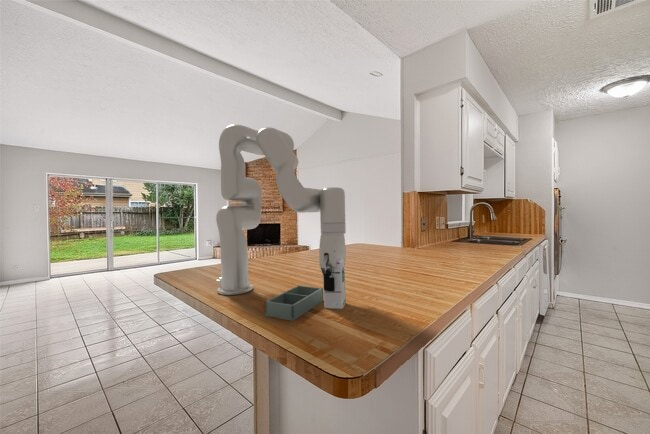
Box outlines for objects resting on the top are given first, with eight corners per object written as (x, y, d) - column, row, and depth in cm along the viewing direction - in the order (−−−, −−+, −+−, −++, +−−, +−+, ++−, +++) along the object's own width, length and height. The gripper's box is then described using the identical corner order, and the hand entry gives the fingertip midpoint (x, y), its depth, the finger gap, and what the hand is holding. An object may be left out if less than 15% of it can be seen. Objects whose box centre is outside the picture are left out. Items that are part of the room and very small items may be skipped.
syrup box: (343, 309, 81) (342, 259, 81) (323, 308, 83) (322, 259, 82) (345, 302, 87) (344, 256, 87) (327, 302, 88) (326, 256, 88)
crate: (293, 320, 74) (292, 305, 74) (265, 315, 78) (265, 301, 78) (323, 300, 90) (323, 288, 90) (298, 297, 94) (298, 285, 94)
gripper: (333, 226, 94) (334, 279, 94) (308, 230, 78) (309, 294, 79) (354, 226, 90) (355, 281, 91) (332, 231, 75) (334, 297, 75)
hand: (334, 286), depth 85 cm, fingers closed on syrup box, 6 cm apart
